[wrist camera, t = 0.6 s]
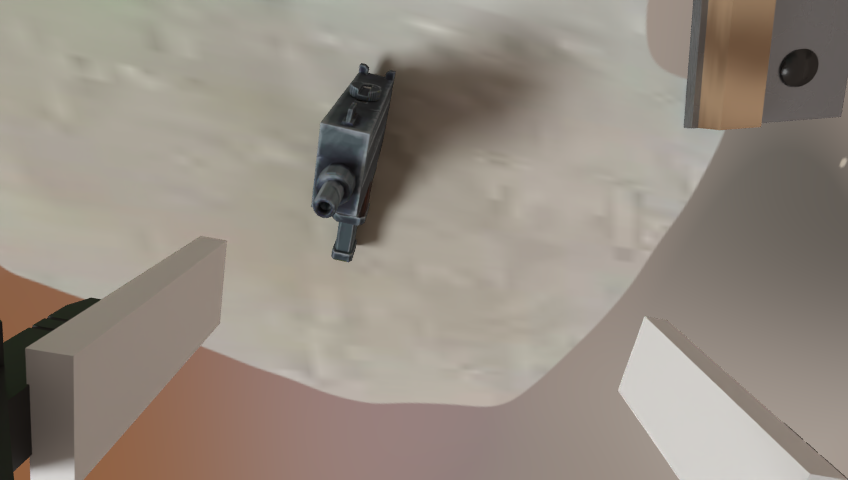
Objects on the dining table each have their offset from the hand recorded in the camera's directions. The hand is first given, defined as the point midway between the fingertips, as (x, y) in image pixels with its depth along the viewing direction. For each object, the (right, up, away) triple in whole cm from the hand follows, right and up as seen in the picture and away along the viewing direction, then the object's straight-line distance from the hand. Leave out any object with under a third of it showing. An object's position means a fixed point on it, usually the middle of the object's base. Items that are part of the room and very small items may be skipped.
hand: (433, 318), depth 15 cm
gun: (-6, +9, +26) cm, 28 cm away
